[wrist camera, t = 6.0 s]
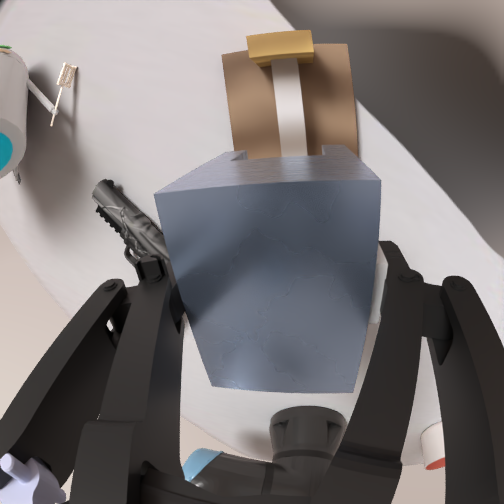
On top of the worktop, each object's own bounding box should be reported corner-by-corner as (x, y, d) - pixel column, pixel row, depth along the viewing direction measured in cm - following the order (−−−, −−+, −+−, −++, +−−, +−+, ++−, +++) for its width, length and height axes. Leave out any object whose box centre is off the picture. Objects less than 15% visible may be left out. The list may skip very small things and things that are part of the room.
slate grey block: (343, 288, 18) (353, 392, 11) (246, 289, 19) (212, 386, 12) (344, 144, 14) (380, 180, 7) (225, 152, 15) (153, 194, 8)
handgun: (67, 247, 35) (97, 177, 29) (81, 237, 38) (114, 170, 32) (164, 338, 39) (220, 292, 33) (173, 323, 42) (228, 276, 36)
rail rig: (356, 234, 29) (365, 261, 24) (248, 236, 32) (235, 263, 27) (345, 46, 21) (355, 30, 15) (224, 56, 23) (204, 44, 18)
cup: (414, 439, 49) (418, 473, 40) (428, 421, 44) (434, 458, 36) (447, 433, 47) (452, 464, 38) (463, 414, 42) (471, 448, 34)
